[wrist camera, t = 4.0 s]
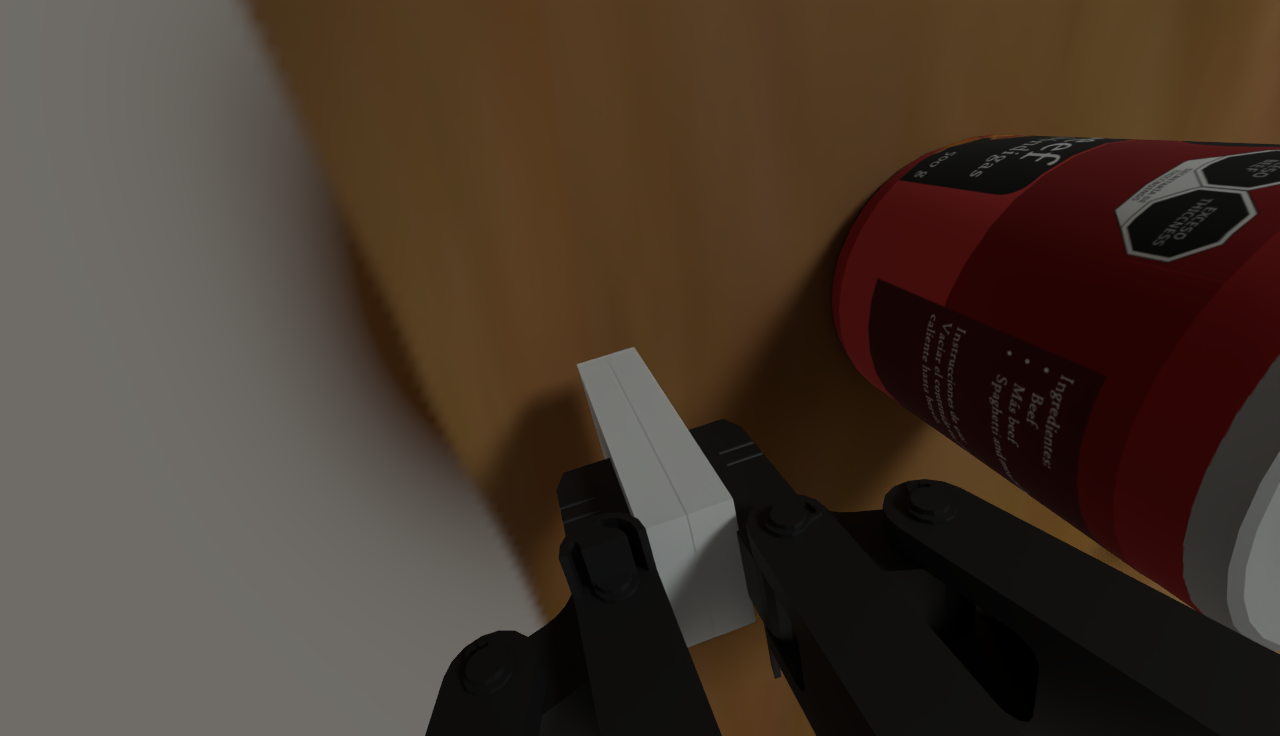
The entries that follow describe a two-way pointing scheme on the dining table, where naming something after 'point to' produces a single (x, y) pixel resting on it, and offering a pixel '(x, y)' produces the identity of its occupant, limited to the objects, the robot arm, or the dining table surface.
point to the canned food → (1094, 341)
